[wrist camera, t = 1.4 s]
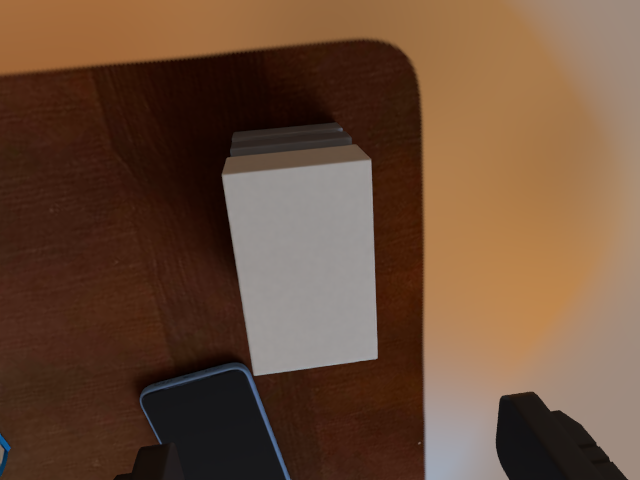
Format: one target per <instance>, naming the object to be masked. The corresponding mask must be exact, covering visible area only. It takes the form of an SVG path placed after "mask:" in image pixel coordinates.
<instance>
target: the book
mask: <svg viewBox="0 0 640 480" xmlns="http://www.w3.org/2000/svg"><path fill="white" fill-rule="evenodd" d="M10 448H11V447H10V446H9V445H8V443H7V442H6V441H5V439H4V438H3V437H2V436H1V434H0V477H1V475H2V473H3V470H4V468H5V465H6V461H7V456H8V451H9V450H10Z"/></svg>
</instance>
